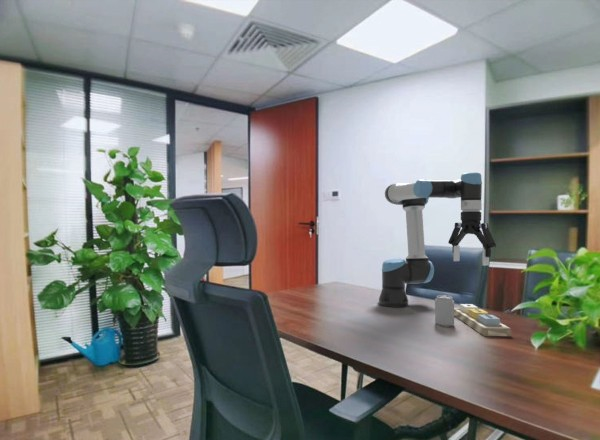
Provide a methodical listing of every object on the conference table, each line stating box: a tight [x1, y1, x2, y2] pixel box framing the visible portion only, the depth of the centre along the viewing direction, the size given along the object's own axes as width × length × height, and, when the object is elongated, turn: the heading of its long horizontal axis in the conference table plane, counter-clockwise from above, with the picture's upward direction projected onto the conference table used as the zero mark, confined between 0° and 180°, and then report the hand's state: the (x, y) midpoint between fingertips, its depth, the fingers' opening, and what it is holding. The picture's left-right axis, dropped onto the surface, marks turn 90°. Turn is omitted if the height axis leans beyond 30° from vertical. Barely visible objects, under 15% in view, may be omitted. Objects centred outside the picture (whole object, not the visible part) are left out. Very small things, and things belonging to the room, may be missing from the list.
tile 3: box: [478, 314, 501, 326], centre depth 135 cm, size 6×6×3 cm
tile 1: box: [459, 303, 479, 314], centre depth 152 cm, size 6×6×3 cm
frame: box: [454, 307, 512, 337], centre depth 143 cm, size 30×10×3 cm, turn 178°
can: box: [434, 294, 455, 328], centre depth 142 cm, size 8×8×12 cm
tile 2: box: [468, 308, 489, 319], centre depth 143 cm, size 6×6×3 cm
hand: (470, 263), depth 137 cm, fingers open, 13 cm apart
